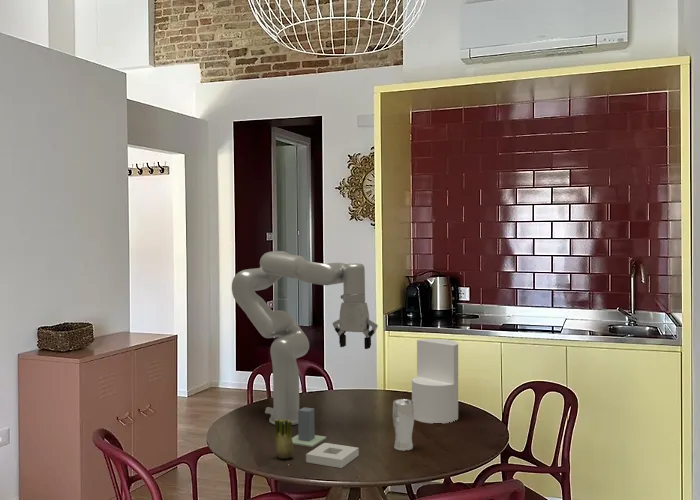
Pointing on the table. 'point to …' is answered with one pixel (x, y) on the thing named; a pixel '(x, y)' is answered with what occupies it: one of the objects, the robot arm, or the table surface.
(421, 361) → the grey stepped cylindrical piece
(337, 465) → the white square hole board
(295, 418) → the robot arm
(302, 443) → the sage mat
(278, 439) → the fennel bulb
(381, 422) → the table surface
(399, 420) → the beer glass
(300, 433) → the slate plug
